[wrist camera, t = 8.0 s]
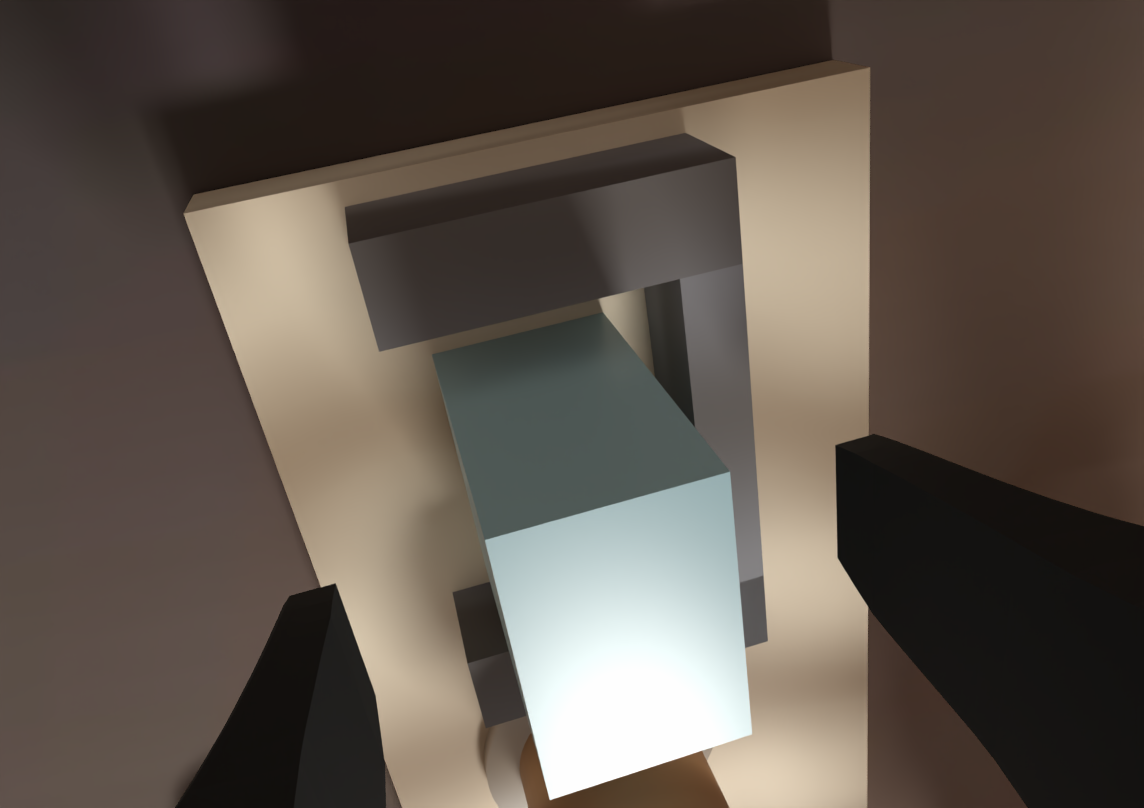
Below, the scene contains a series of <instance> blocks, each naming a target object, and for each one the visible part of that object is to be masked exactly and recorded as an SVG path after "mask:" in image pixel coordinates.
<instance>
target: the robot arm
mask: <svg viewBox="0 0 1144 808" xmlns="http://www.w3.org/2000/svg"><path fill="white" fill-rule="evenodd" d="M835 455H836V508H837V558H838V560H839V561H840V563H841V564H842V566H843V568H844V569H845V571H846V573H847V574H848V576H849V578H850V579H851V581H852V582H853V584H854V586H855V587H856V589H857V590H858V592H859V594H860V595H861V597H862V598H863V600H864V601H865V603H866V604H867V606H868V607H869V609H870V610H871V612H872V613H873V615H874V616H875V617H876V618H877V619H878V621H879V622H880V623H881V624H882V626H883V627H884V628H885V629H886V630H887V632H888V633H889V634H890V635H891V636H892V638H893V639H894V640H895V641H896V642H897V644H898V645H899V646H900V647H901V648H902V650H903V651H904V652H905V653H906V654H907V655H908V657H909V658H910V659H911V660H912V661H913V663H914V664H915V665H916V666H917V667H918V668H919V670H920V671H921V672H922V673H923V674H924V675H925V677H926V678H927V679H928V680H929V681H930V682H931V684H932V685H933V686H934V687H935V688H936V689H937V691H938V692H939V693H940V694H941V695H942V696H943V698H944V699H945V700H946V701H947V702H948V703H949V705H950V706H951V707H952V708H953V709H954V710H955V712H956V713H957V714H958V715H959V716H960V718H961V719H962V720H963V721H964V722H965V723H966V725H967V726H968V727H969V728H970V729H971V730H972V732H973V733H974V734H975V735H976V737H977V738H978V739H979V740H980V742H981V743H982V744H983V746H984V747H985V748H986V749H987V751H988V752H989V753H990V754H991V756H992V757H993V758H994V760H995V761H996V762H997V764H998V765H999V767H1000V768H1001V770H1002V771H1003V773H1004V774H1005V775H1006V777H1007V778H1008V780H1009V781H1010V783H1011V784H1012V786H1013V787H1014V788H1015V790H1016V791H1017V793H1018V794H1019V796H1020V797H1021V799H1022V800H1023V801H1024V803H1025V804H1026V806H1027V807H1028V808H1144V526H1140V525H1136V524H1133V523H1129V522H1125V521H1121V520H1118V519H1114V518H1111V517H1107V516H1104V515H1100V514H1097V513H1093V512H1090V511H1087V510H1084V509H1081V508H1078V507H1075V506H1072V505H1069V504H1065V503H1062V502H1059V501H1056V500H1053V499H1050V498H1047V497H1044V496H1041V495H1038V494H1035V493H1033V492H1030V491H1027V490H1024V489H1021V488H1018V487H1016V486H1013V485H1010V484H1007V483H1005V482H1002V481H999V480H997V479H994V478H991V477H989V476H986V475H983V474H981V473H978V472H975V471H973V470H970V469H968V468H965V467H962V466H960V465H957V464H955V463H952V462H950V461H947V460H945V459H942V458H939V457H937V456H934V455H932V454H929V453H926V452H924V451H921V450H919V449H916V448H913V447H911V446H908V445H905V444H903V443H900V442H897V441H894V440H891V439H888V438H885V437H882V436H879V435H875V434H873V435H869V436H865V437H862V438H858V439H855V440H851V441H847V442H844V443H840V444H837V445H835ZM175 808H386V793H385V761H384V753H383V745H382V738H381V730H380V723H379V716H378V709H377V702H376V695H375V692H374V689H373V686H372V684H371V681H370V678H369V675H368V672H367V670H366V667H365V664H364V661H363V658H362V656H361V653H360V650H359V647H358V644H357V642H356V639H355V636H354V633H353V630H352V627H351V625H350V622H349V619H348V616H347V613H346V611H345V608H344V605H343V602H342V599H341V597H340V594H339V591H338V588H337V585H336V583H335V584H331V585H327V586H324V587H320V588H317V589H313V590H309V591H306V592H302V593H299V594H295V595H291V596H289V598H288V599H287V601H286V602H285V604H284V605H283V608H282V610H281V612H280V614H279V617H278V619H277V621H276V623H275V626H274V628H273V630H272V632H271V634H270V637H269V639H268V641H267V643H266V645H265V648H264V650H263V652H262V654H261V656H260V658H259V660H258V662H257V664H256V666H255V668H254V670H253V673H252V675H251V677H250V678H249V680H248V682H247V684H246V686H245V688H244V690H243V692H242V694H241V696H240V698H239V700H238V702H237V704H236V705H235V707H234V709H233V711H232V713H231V715H230V717H229V719H228V721H227V723H226V724H225V726H224V728H223V730H222V732H221V733H220V735H219V737H218V738H217V740H216V742H215V743H214V745H213V747H212V748H211V750H210V752H209V754H208V755H207V757H206V759H205V760H204V762H203V764H202V765H201V767H200V769H199V771H198V772H197V774H196V776H195V777H194V779H193V781H192V782H191V784H190V785H189V787H188V789H187V790H186V792H185V793H184V795H183V796H182V798H181V799H180V801H179V802H178V804H177V806H176V807H175Z"/></svg>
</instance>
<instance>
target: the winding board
mask: <svg viewBox="0 0 1144 808" xmlns="http://www.w3.org/2000/svg"><path fill="white" fill-rule="evenodd" d="M184 216H185V219H186V222H187V225H188V227H189V230H190V233H191V235H192V238H193V241H194V244H195V246H196V249H197V252H198V254H199V257H200V260H201V263H202V265H203V268H204V271H205V273H206V276H207V279H208V282H209V284H210V287H211V290H212V292H213V295H214V298H215V301H216V303H217V306H218V309H219V311H220V314H221V317H222V320H223V322H224V325H225V328H226V331H227V333H228V336H229V339H230V341H231V344H232V347H233V350H234V352H235V355H236V358H237V360H238V363H239V366H240V369H241V371H242V374H243V377H244V379H245V382H246V385H247V388H248V390H249V393H250V396H251V398H252V401H253V404H254V407H255V409H256V412H257V415H258V417H259V420H260V423H261V426H262V428H263V431H264V434H265V436H266V439H267V442H268V445H269V447H270V450H271V453H272V455H273V458H274V461H275V464H276V466H277V469H278V472H279V474H280V477H281V480H282V483H283V485H284V488H285V491H286V493H287V496H288V499H289V502H290V504H291V507H292V510H293V512H294V515H295V518H296V521H297V523H298V526H299V529H300V531H301V534H302V537H303V540H304V542H305V545H306V548H307V550H308V553H309V556H310V559H311V561H312V564H313V567H314V569H315V572H316V575H317V578H318V580H319V583H320V586H321V587H324V586H327V585H331V584H335V583H336V585H337V588H338V591H339V594H340V597H341V599H342V602H343V605H344V608H345V611H346V613H347V616H348V619H349V622H350V625H351V627H352V630H353V633H354V636H355V639H356V642H357V644H358V647H359V650H360V653H361V656H362V658H363V661H364V664H365V667H366V670H367V672H368V675H369V678H370V681H371V684H372V686H373V689H374V692H375V695H376V702H377V709H378V716H379V723H380V730H381V738H382V745H383V753H384V759H385V762H386V765H387V768H388V770H389V773H390V776H391V778H392V781H393V784H394V787H395V789H396V792H397V795H398V797H399V800H400V803H401V806H402V808H867V729H868V606H867V604H866V603H865V601H864V600H863V598H862V597H861V595H860V594H859V592H858V590H857V589H856V587H855V586H854V584H853V582H852V581H851V579H850V578H849V576H848V574H847V573H846V571H845V569H844V568H843V566H842V564H841V563H840V561H839V560H838V558H837V508H836V455H835V445H837V444H840V443H844V442H847V441H851V440H855V439H858V438H862V437H865V436H869V233H870V67H866V66H861V65H856V64H851V63H846V62H842V61H837V60H831V61H826V62H821V63H817V64H812V65H807V66H802V67H798V68H793V69H788V70H783V71H779V72H774V73H769V74H764V75H760V76H755V77H750V78H745V79H741V80H736V81H731V82H726V83H722V84H717V85H712V86H707V87H703V88H698V89H693V90H688V91H684V92H679V93H674V94H669V95H665V96H660V97H655V98H650V99H646V100H641V101H636V102H631V103H626V104H622V105H617V106H612V107H607V108H603V109H598V110H593V111H588V112H584V113H579V114H574V115H569V116H565V117H560V118H555V119H550V120H546V121H541V122H536V123H531V124H527V125H522V126H517V127H512V128H508V129H503V130H498V131H493V132H489V133H484V134H479V135H474V136H470V137H465V138H460V139H455V140H451V141H446V142H441V143H436V144H432V145H427V146H422V147H417V148H413V149H408V150H403V151H398V152H394V153H389V154H384V155H379V156H375V157H370V158H365V159H360V160H356V161H351V162H346V163H341V164H337V165H332V166H327V167H322V168H318V169H313V170H308V171H303V172H299V173H294V174H289V175H284V176H280V177H275V178H270V179H265V180H261V181H256V182H251V183H246V184H241V185H237V186H232V187H227V188H222V189H218V190H213V191H208V192H203V193H199V194H194V195H193V196H192V198H191V200H190V202H189V204H188V206H187V208H186V210H185V212H184ZM602 312H603V313H604V314H605V315H606V317H607V318H608V319H609V320H610V322H611V323H612V324H613V325H614V327H615V328H616V329H617V330H618V332H619V333H620V334H621V335H622V337H623V338H624V339H625V340H626V342H627V343H628V344H629V345H630V347H631V348H632V349H633V350H634V352H635V353H636V354H637V355H638V357H639V358H640V359H641V360H642V362H643V363H644V364H645V365H646V367H647V368H648V369H649V371H650V372H651V373H652V374H653V376H654V377H655V378H656V379H657V381H658V382H659V383H660V384H661V386H662V387H663V388H664V389H665V391H666V392H667V393H668V394H669V396H670V397H671V398H672V399H673V401H674V402H675V403H676V404H677V406H678V407H679V408H680V409H681V411H682V412H683V413H684V414H685V416H686V417H687V418H688V420H689V421H690V422H691V423H692V425H693V426H694V427H695V428H696V430H697V431H698V432H699V433H700V435H701V436H702V437H703V438H704V440H705V441H706V442H707V443H708V445H709V446H710V447H711V448H712V450H713V451H714V452H715V453H716V455H717V456H718V457H719V458H720V460H721V461H722V462H723V463H724V465H725V466H726V467H727V468H728V470H729V471H730V477H731V489H732V501H733V513H734V524H735V536H736V548H737V560H738V572H739V583H740V595H741V607H742V619H743V631H744V642H745V654H746V666H747V678H748V690H749V702H750V713H751V725H752V735H748V736H745V737H742V738H739V739H736V740H733V741H730V742H727V743H724V744H721V745H718V746H715V747H712V748H708V749H705V750H702V751H699V752H696V753H693V754H690V755H687V756H684V757H681V758H678V759H675V760H672V761H669V762H665V763H662V764H659V765H656V766H653V767H650V768H647V769H644V770H641V771H638V772H635V773H632V774H629V775H626V776H622V777H619V778H616V779H613V780H610V781H607V782H604V783H601V784H598V785H595V786H592V787H589V788H586V789H582V790H579V791H576V792H573V793H570V794H567V795H564V796H561V797H558V798H555V799H552V800H550V799H549V795H548V792H547V788H546V784H545V781H544V777H543V773H542V770H541V766H540V762H539V759H538V755H537V752H536V748H535V744H534V741H533V737H532V733H531V730H530V726H529V722H528V719H527V715H526V711H525V708H524V704H523V701H522V697H521V693H520V690H519V686H518V682H517V679H516V675H515V671H514V668H513V664H512V660H511V657H510V653H509V650H508V646H507V642H506V639H505V635H504V631H503V628H502V624H501V620H500V617H499V613H498V609H497V606H496V602H495V599H494V595H493V591H492V588H491V584H490V580H489V577H488V573H487V569H486V566H485V562H484V558H483V554H482V550H481V546H480V542H479V538H478V534H477V530H476V526H475V523H474V519H473V515H472V511H471V507H470V503H469V499H468V495H467V491H466V487H465V483H464V479H463V475H462V471H461V467H460V463H459V460H458V456H457V452H456V448H455V444H454V440H453V436H452V432H451V428H450V424H449V420H448V416H447V412H446V408H445V404H444V401H443V397H442V393H441V389H440V385H439V381H438V377H437V373H436V369H435V365H434V361H433V357H432V354H436V353H440V352H444V351H448V350H452V349H456V348H460V347H464V346H468V345H472V344H476V343H480V342H484V341H488V340H492V339H497V338H501V337H505V336H509V335H513V334H517V333H521V332H525V331H529V330H533V329H537V328H541V327H545V326H549V325H553V324H558V323H562V322H566V321H570V320H574V319H578V318H582V317H586V316H590V315H594V314H598V313H602Z"/></svg>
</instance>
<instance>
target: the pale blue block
mask: <svg viewBox="0 0 1144 808" xmlns="http://www.w3.org/2000/svg"><path fill="white" fill-rule="evenodd" d="M432 357H433V361H434V365H435V369H436V373H437V377H438V381H439V385H440V389H441V393H442V397H443V401H444V404H445V408H446V412H447V416H448V420H449V424H450V428H451V432H452V436H453V440H454V444H455V448H456V452H457V456H458V460H459V463H460V467H461V471H462V475H463V479H464V483H465V487H466V491H467V495H468V499H469V503H470V507H471V511H472V515H473V519H474V523H475V526H476V530H477V534H478V538H479V542H480V546H481V550H482V554H483V558H484V562H485V566H486V569H487V573H488V577H489V580H490V584H491V588H492V591H493V595H494V599H495V602H496V606H497V609H498V613H499V617H500V620H501V624H502V628H503V631H504V635H505V639H506V642H507V646H508V650H509V653H510V657H511V660H512V664H513V668H514V671H515V675H516V679H517V682H518V686H519V690H520V693H521V697H522V701H523V704H524V708H525V711H526V715H527V719H528V722H529V726H530V730H531V733H532V737H533V741H534V744H535V748H536V752H537V755H538V759H539V762H540V766H541V770H542V773H543V777H544V781H545V784H546V788H547V792H548V795H549V799H550V800H552V799H555V798H558V797H561V796H564V795H567V794H570V793H573V792H576V791H579V790H582V789H586V788H589V787H592V786H595V785H598V784H601V783H604V782H607V781H610V780H613V779H616V778H619V777H622V776H626V775H629V774H632V773H635V772H638V771H641V770H644V769H647V768H650V767H653V766H656V765H659V764H662V763H665V762H669V761H672V760H675V759H678V758H681V757H684V756H687V755H690V754H693V753H696V752H699V751H702V750H705V749H708V748H712V747H715V746H718V745H721V744H724V743H727V742H730V741H733V740H736V739H739V738H742V737H745V736H748V735H752V725H751V713H750V702H749V690H748V678H747V666H746V654H745V642H744V631H743V619H742V607H741V595H740V583H739V572H738V560H737V548H736V536H735V524H734V513H733V501H732V489H731V477H730V471H729V470H728V468H727V467H726V466H725V465H724V463H723V462H722V461H721V460H720V458H719V457H718V456H717V455H716V453H715V452H714V451H713V450H712V448H711V447H710V446H709V445H708V443H707V442H706V441H705V440H704V438H703V437H702V436H701V435H700V433H699V432H698V431H697V430H696V428H695V427H694V426H693V425H692V423H691V422H690V421H689V420H688V418H687V417H686V416H685V414H684V413H683V412H682V411H681V409H680V408H679V407H678V406H677V404H676V403H675V402H674V401H673V399H672V398H671V397H670V396H669V394H668V393H667V392H666V391H665V389H664V388H663V387H662V386H661V384H660V383H659V382H658V381H657V379H656V378H655V377H654V376H653V374H652V373H651V372H650V371H649V369H648V368H647V367H646V365H645V364H644V363H643V362H642V360H641V359H640V358H639V357H638V355H637V354H636V353H635V352H634V350H633V349H632V348H631V347H630V345H629V344H628V343H627V342H626V340H625V339H624V338H623V337H622V335H621V334H620V333H619V332H618V330H617V329H616V328H615V327H614V325H613V324H612V323H611V322H610V320H609V319H608V318H607V317H606V315H605V314H604V313H603V312H602V313H598V314H594V315H590V316H586V317H582V318H578V319H574V320H570V321H566V322H562V323H558V324H553V325H549V326H545V327H541V328H537V329H533V330H529V331H525V332H521V333H517V334H513V335H509V336H505V337H501V338H497V339H492V340H488V341H484V342H480V343H476V344H472V345H468V346H464V347H460V348H456V349H452V350H448V351H444V352H440V353H436V354H432Z"/></svg>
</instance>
